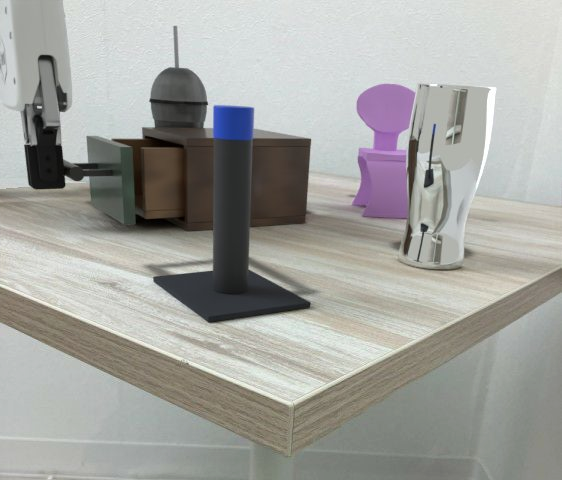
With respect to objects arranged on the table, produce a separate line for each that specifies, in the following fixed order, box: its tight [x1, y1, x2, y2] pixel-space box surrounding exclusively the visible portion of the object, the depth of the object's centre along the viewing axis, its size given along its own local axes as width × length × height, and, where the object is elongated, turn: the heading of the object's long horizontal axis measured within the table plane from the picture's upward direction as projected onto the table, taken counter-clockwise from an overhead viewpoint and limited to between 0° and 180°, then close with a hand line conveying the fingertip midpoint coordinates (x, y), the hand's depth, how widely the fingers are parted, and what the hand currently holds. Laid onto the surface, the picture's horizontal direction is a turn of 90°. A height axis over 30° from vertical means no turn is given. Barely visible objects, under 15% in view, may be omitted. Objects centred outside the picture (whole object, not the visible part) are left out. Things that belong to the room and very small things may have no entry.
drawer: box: [63, 135, 185, 226], centre depth 69 cm, size 18×11×7 cm, turn 121°
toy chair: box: [351, 83, 416, 219], centre depth 80 cm, size 8×9×15 cm
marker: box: [212, 104, 255, 294], centre depth 45 cm, size 3×3×12 cm
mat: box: [152, 269, 312, 323], centre depth 48 cm, size 10×8×1 cm
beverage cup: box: [148, 25, 209, 128], centre depth 81 cm, size 7×7×20 cm
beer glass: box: [397, 82, 497, 271], centre depth 57 cm, size 7×7×15 cm
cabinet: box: [141, 126, 312, 232], centre depth 73 cm, size 15×13×9 cm
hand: (47, 187), depth 64 cm, fingers closed
